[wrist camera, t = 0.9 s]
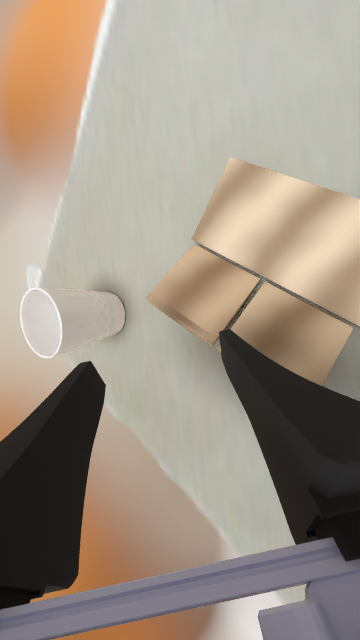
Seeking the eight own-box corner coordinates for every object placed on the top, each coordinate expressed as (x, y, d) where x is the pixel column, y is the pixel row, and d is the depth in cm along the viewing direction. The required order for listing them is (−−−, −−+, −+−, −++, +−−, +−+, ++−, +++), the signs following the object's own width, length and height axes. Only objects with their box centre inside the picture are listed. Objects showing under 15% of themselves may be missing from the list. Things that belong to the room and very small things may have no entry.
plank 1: (257, 285, 20) (260, 278, 18) (211, 346, 18) (212, 343, 17) (194, 251, 22) (194, 243, 21) (149, 302, 20) (145, 296, 19)
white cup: (88, 326, 32) (18, 340, 24) (95, 281, 30) (20, 278, 21) (123, 346, 29) (57, 370, 21) (133, 297, 27) (65, 301, 18)
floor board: (450, 238, 14) (464, 234, 13) (363, 329, 16) (369, 331, 15) (232, 164, 19) (230, 157, 18) (195, 241, 22) (191, 239, 21)
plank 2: (343, 332, 17) (354, 327, 16) (300, 409, 15) (308, 411, 14) (261, 287, 19) (265, 280, 18) (216, 350, 18) (217, 346, 16)
